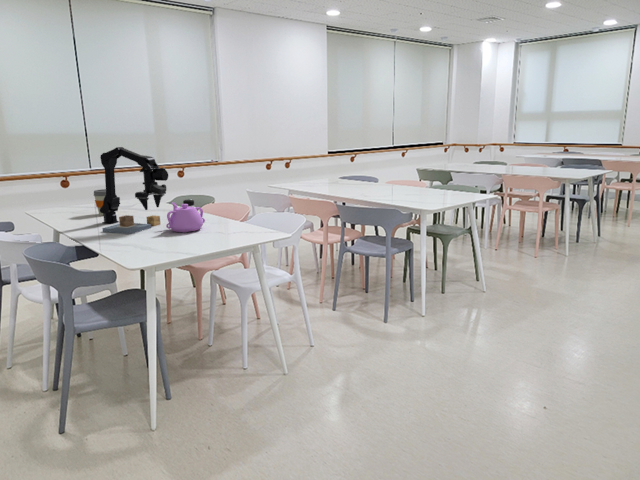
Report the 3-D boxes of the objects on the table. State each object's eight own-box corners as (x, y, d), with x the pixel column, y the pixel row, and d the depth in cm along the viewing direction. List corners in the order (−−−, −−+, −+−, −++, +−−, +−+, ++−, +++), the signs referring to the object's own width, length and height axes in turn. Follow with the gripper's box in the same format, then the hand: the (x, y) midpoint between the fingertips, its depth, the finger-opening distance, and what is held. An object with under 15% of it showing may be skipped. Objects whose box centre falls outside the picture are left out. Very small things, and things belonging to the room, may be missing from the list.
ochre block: (147, 225, 272) (146, 216, 271) (153, 224, 276) (152, 215, 275) (154, 226, 270) (153, 217, 269) (160, 224, 275) (159, 215, 273)
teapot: (192, 223, 275) (190, 199, 272) (213, 229, 260) (211, 203, 257) (155, 230, 260) (152, 204, 257) (175, 236, 245) (173, 208, 242)
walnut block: (119, 226, 259) (118, 216, 258) (126, 224, 264) (125, 215, 263) (127, 226, 258) (126, 217, 257) (134, 225, 262) (133, 215, 261)
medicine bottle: (193, 221, 281) (191, 200, 279) (181, 221, 283) (179, 200, 280) (198, 219, 288) (196, 198, 286) (187, 218, 290) (185, 198, 287)
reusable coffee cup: (110, 211, 319) (107, 188, 315) (121, 213, 312) (119, 189, 308) (92, 214, 309) (89, 190, 305) (103, 216, 302) (100, 192, 298)
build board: (102, 231, 257) (102, 227, 257) (124, 225, 272) (124, 221, 271) (130, 234, 251) (129, 229, 250) (151, 227, 265) (150, 223, 265)
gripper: (150, 182, 256) (152, 212, 260) (172, 178, 273) (174, 206, 277) (132, 182, 260) (135, 211, 264) (156, 178, 277) (158, 205, 281)
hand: (152, 208), depth 271 cm, fingers open, 9 cm apart
